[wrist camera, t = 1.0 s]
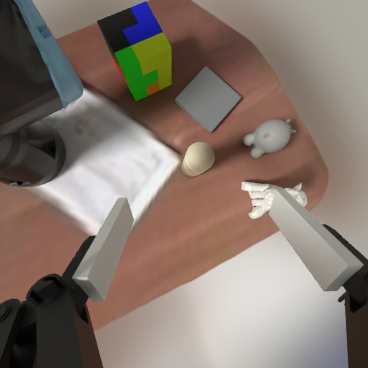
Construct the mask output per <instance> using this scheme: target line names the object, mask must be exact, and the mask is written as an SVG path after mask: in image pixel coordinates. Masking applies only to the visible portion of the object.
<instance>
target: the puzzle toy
mask: <svg viewBox="0 0 368 368" xmlns="http://www.w3.org/2000/svg"><path fill="white" fill-rule="evenodd" d="M97 22H98V25H99V27H100V29H101V32H102V34H103V36H104V38H105V41H106V43H107V45H108V48H109V50H110V52H111V54H112V57H113V59H114V61H115V64H116V66H117V68H118V70H119V71H120V73H121V75H122V77H123V79H124V81H125V82H126V84H127V86H128V88H129V90H130V91H131V93H132V95H133V97H134V99H135V101H138V100H140V99H142V98H145V97H147V96H149V95H151V94H153V93H155V92H157V91H159V90H162V89H164V88H166V87H168V86H170V85H172V47H171V46H170V44H169V42H168V40H167V38H166V37H165V35H164V33H163V31H162V29H161V27H160V26H159V24H158V22H157V20H156V18H155V17H154V15H153V13H152V11H151V9H150V8H149V6H148V4H147V2H143V3H141V4H138V5H136V6H134V7H131V8H128V9H126V10H123V11H121V12H118V13H116V14H113V15H111V16H108V17H106V18H104V19H101V20H98V21H97Z"/></svg>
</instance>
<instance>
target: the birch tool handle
mask: <svg viewBox="0 0 368 368" xmlns="http://www.w3.org/2000/svg"><path fill="white" fill-rule="evenodd" d="M214 161H215V153H214V151H213V149H212V148H211V146H209V145H208V144H206V143H203V142H197V143H194V144H192V145H191V146H190V147H189V148H188V150H187V152H186V155H185V157H184V160H183V163H182V166H181V170H182V173H183V174H184V175H185V176H186V177H189V178H194V177H196V176H198V175H200V174H201V173H203V172H204V171H206V170H208V169H209V168H210V167H211V166H212V165H213V163H214Z"/></svg>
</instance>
